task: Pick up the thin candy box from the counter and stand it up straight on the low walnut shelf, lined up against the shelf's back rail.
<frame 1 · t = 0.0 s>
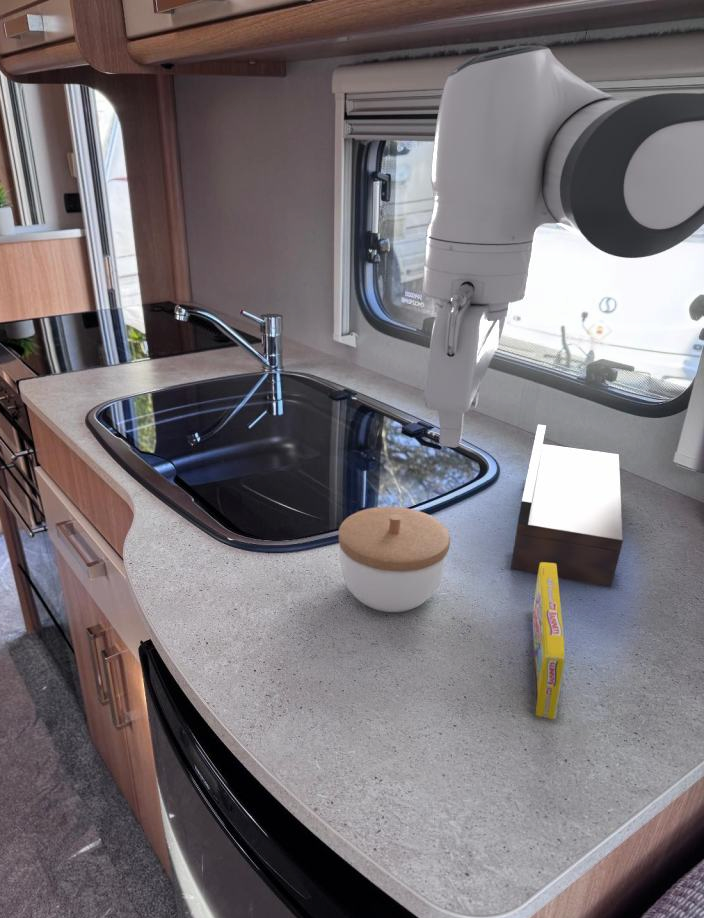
hand: (459, 425, 68), 25 cm above the worktop, tool pointing down, fingers open, 8 cm apart
shelf: (563, 533, 100), on the worktop
candy box: (540, 670, 76), on the worktop
lidded bowl: (389, 599, 86), on the worktop
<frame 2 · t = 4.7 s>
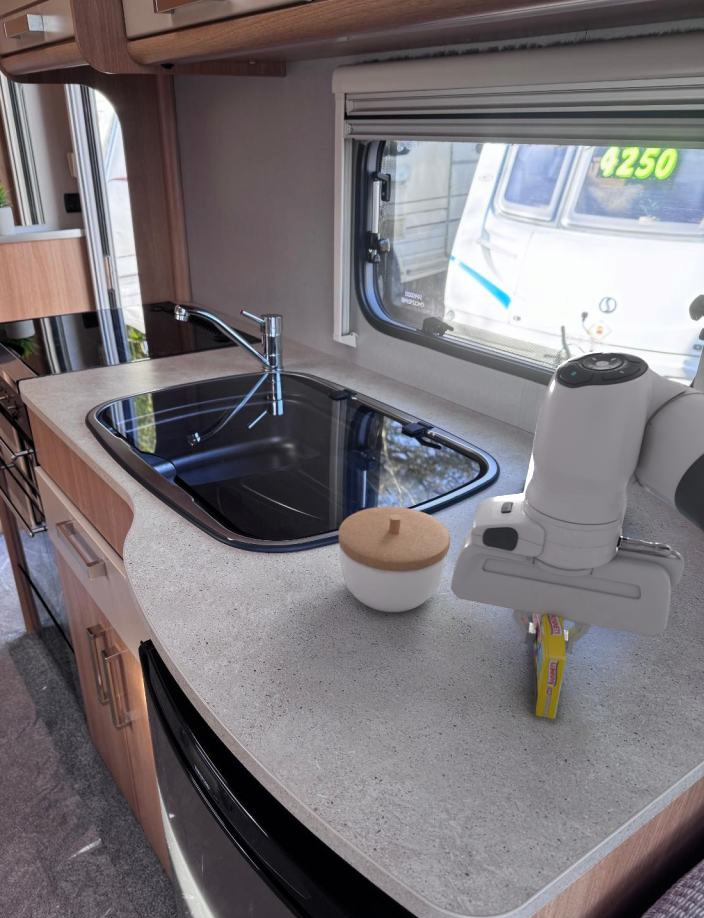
hand: (545, 645, 74), 3 cm above the worktop, tool pointing down, fingers closed on candy box, 2 cm apart
candy box: (540, 670, 76), on the worktop, touching gripper
everything else where it was.
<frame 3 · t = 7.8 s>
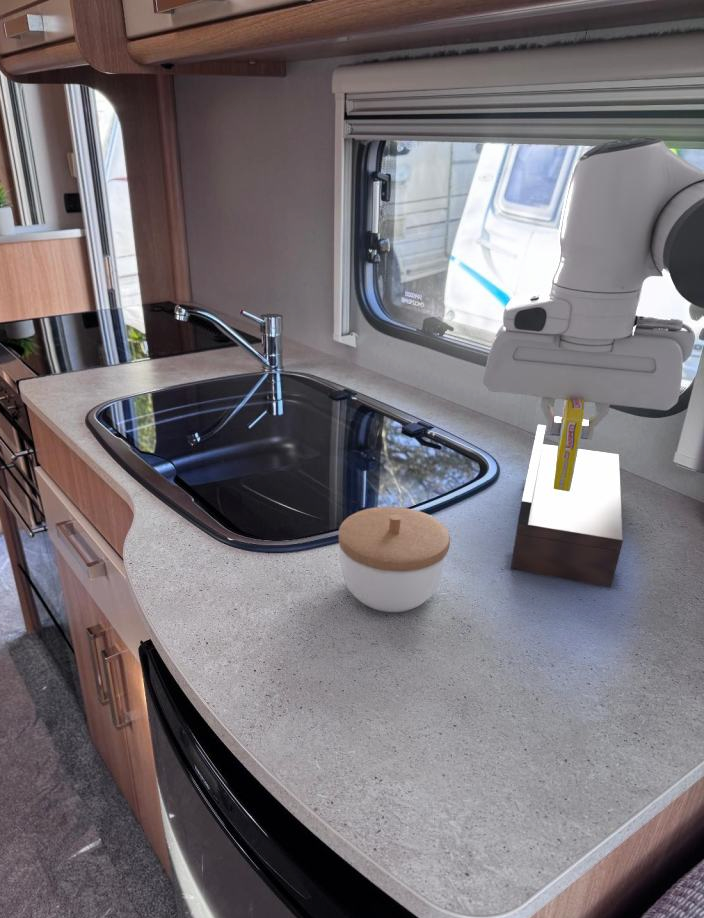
hand: (568, 435, 82), 19 cm above the worktop, tool pointing down, fingers closed on candy box
candy box: (562, 462, 84), point 16 cm above the worktop, touching gripper
everything else where it was.
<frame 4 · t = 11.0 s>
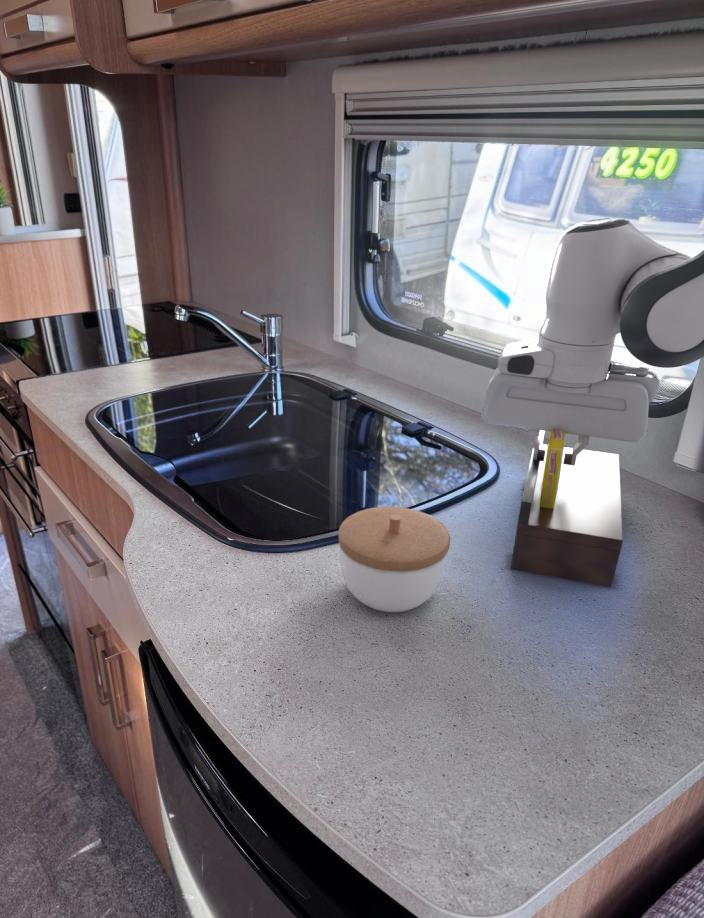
hand: (553, 461, 96), 11 cm above the worktop, tool pointing down, fingers open, 3 cm apart
candy box: (549, 483, 98), point 7 cm above the worktop, touching shelf
everything else where it was.
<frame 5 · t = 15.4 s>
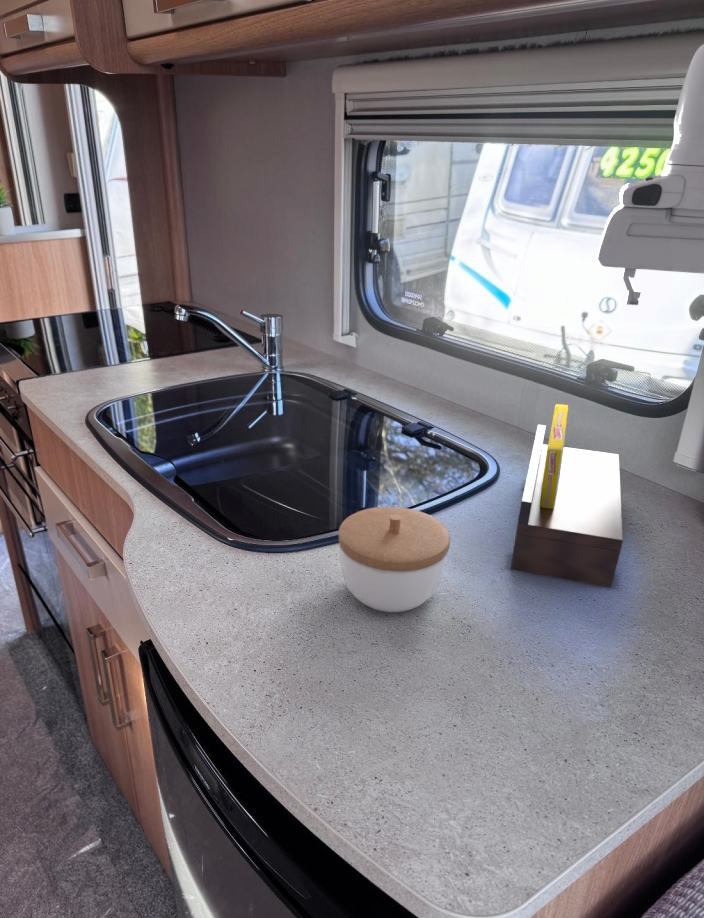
hand: (670, 307, 94), 29 cm above the worktop, tool pointing down, fingers open, 8 cm apart
nothing on the worktop moved.
at the end: candy box inside the target area on the shelf (1.2 cm from its centre), point 7.3 cm above the shelf's base; candy box tilted 0°; the gripper is holding nothing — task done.
